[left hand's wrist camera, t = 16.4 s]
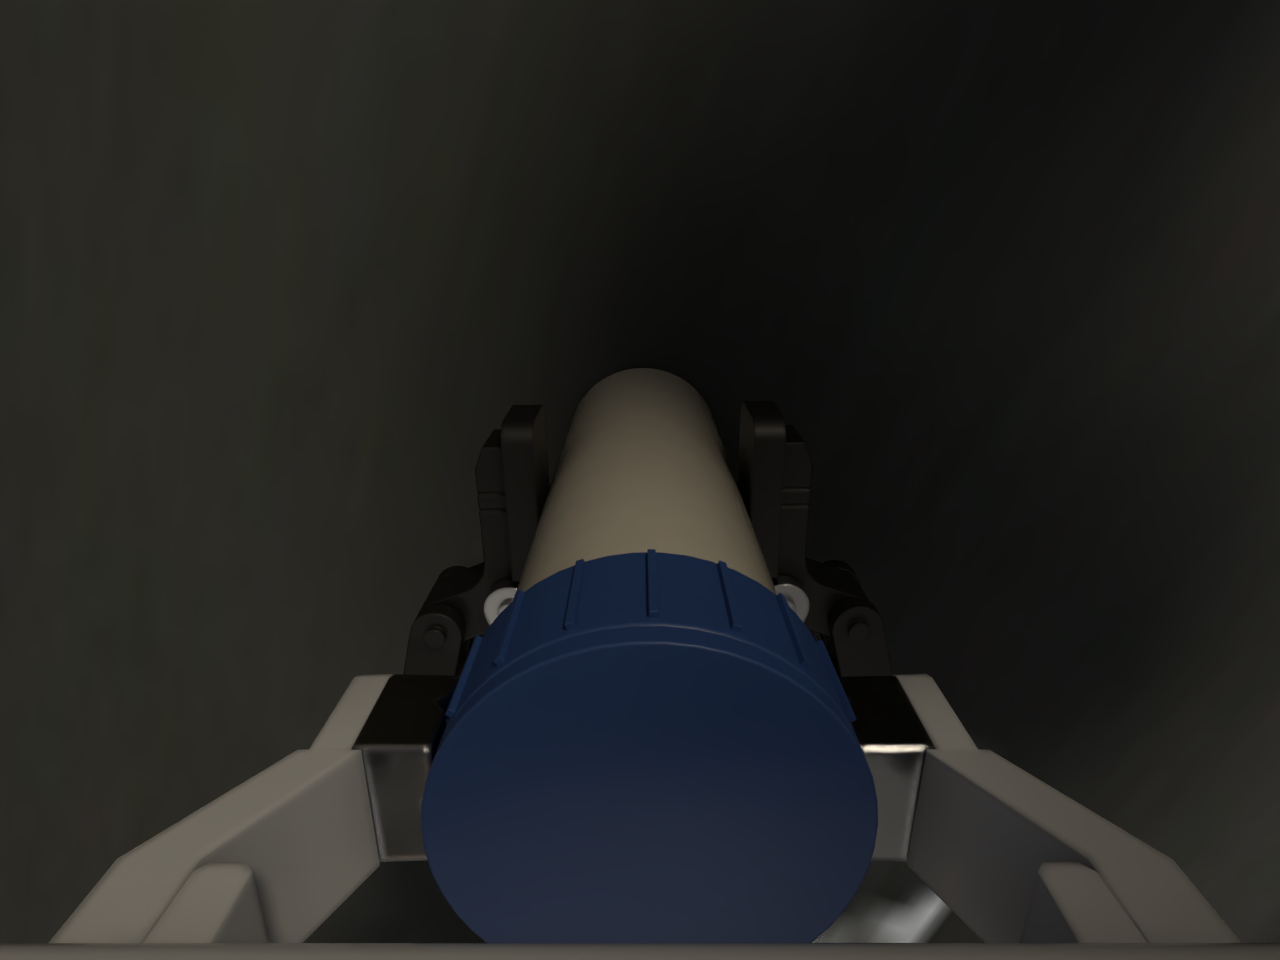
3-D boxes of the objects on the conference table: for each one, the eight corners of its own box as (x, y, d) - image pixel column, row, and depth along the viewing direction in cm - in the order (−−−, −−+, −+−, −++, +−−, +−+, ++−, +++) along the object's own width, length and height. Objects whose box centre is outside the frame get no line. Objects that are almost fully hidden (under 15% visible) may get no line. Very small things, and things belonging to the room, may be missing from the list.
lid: (384, 733, 11) (323, 858, 9) (628, 465, 9) (624, 538, 7) (661, 909, 12) (667, 1057, 10) (915, 697, 10) (983, 818, 8)
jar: (588, 350, 22) (499, 592, 8) (734, 388, 23) (895, 683, 9) (555, 488, 24) (432, 895, 10) (692, 521, 24) (768, 959, 10)
